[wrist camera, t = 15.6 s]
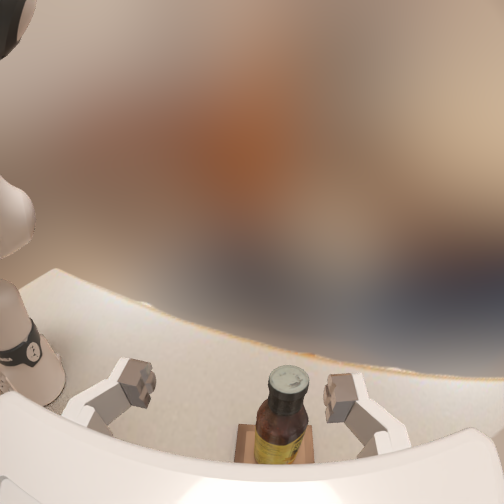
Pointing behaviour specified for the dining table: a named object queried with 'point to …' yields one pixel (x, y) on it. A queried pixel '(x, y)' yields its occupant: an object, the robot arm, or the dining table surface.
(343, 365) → the dining table surface
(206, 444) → the dining table surface
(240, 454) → the trivet
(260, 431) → the sauce bottle
